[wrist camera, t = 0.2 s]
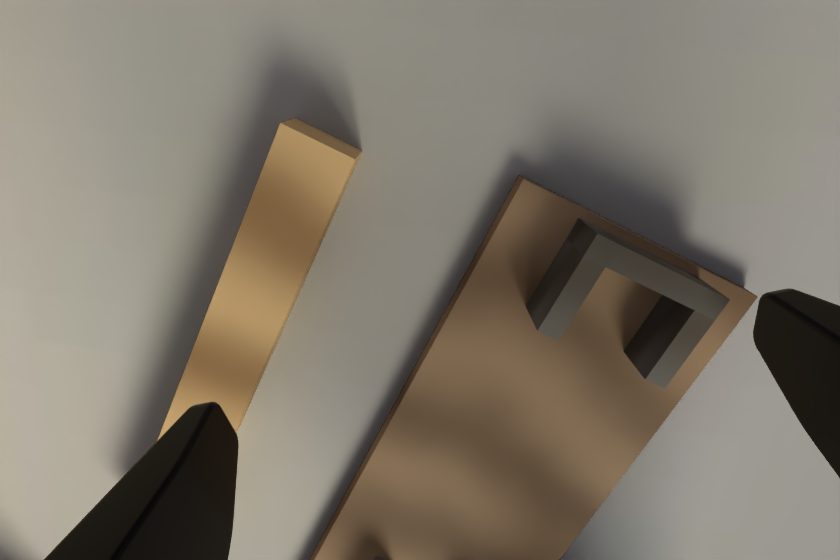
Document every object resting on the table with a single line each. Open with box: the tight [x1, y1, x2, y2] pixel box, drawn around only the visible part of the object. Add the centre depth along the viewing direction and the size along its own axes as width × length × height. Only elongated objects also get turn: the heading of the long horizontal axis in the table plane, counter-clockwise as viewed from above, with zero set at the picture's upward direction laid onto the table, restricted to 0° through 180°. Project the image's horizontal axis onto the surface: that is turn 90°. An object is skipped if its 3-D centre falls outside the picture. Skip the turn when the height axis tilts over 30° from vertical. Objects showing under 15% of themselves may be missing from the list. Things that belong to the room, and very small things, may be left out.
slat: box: [157, 118, 362, 441], centre depth 25 cm, size 22×3×3 cm, turn 154°
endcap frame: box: [310, 175, 757, 560], centre depth 26 cm, size 26×12×4 cm, turn 154°
